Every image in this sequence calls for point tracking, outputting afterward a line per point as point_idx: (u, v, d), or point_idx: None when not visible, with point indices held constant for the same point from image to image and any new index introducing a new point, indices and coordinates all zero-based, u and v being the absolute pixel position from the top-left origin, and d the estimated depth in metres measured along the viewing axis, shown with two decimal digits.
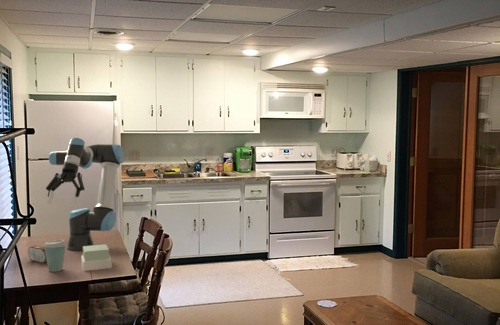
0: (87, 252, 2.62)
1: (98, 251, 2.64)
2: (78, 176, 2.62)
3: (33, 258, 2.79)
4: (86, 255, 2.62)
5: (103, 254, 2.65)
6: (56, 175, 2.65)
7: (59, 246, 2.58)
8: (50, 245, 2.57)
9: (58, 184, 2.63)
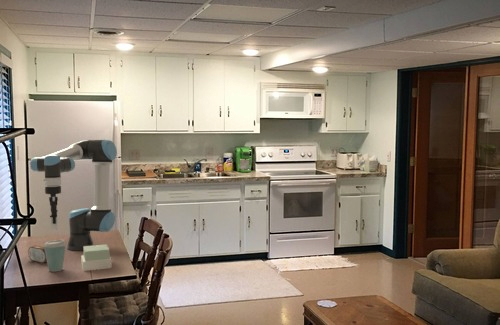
0: (88, 252, 2.62)
1: (99, 251, 2.64)
2: (51, 201, 2.53)
3: (33, 258, 2.79)
4: (87, 255, 2.62)
5: (103, 254, 2.65)
6: None
7: (59, 246, 2.58)
8: (50, 245, 2.57)
9: None
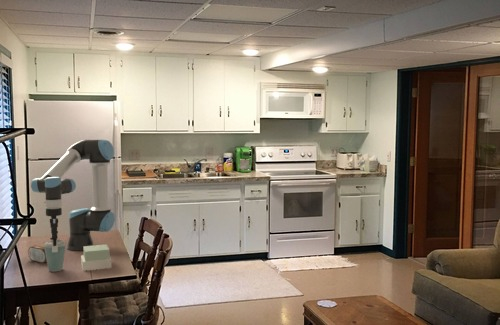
0: (88, 252, 2.62)
1: (99, 251, 2.64)
2: (51, 224, 2.54)
3: (33, 258, 2.79)
4: (87, 255, 2.62)
5: (103, 254, 2.65)
6: None
7: (59, 246, 2.58)
8: (50, 245, 2.57)
9: None
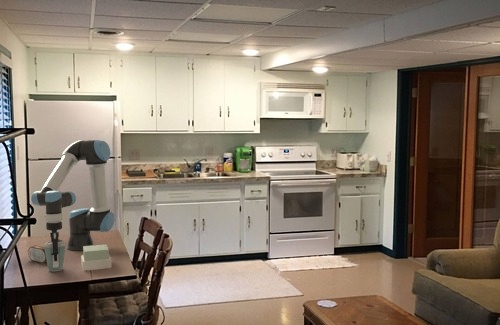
0: (87, 252, 2.62)
1: (98, 251, 2.64)
2: (52, 239, 2.55)
3: (33, 258, 2.79)
4: (86, 255, 2.62)
5: (103, 254, 2.65)
6: None
7: (59, 246, 2.58)
8: (50, 245, 2.57)
9: None
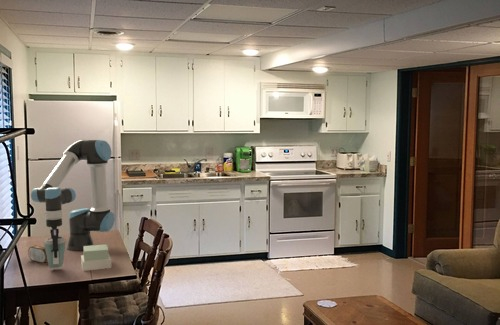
0: (86, 252, 2.62)
1: (97, 251, 2.64)
2: (52, 236, 2.55)
3: (33, 258, 2.79)
4: (85, 255, 2.62)
5: (102, 254, 2.65)
6: None
7: (59, 243, 2.58)
8: (50, 242, 2.57)
9: None
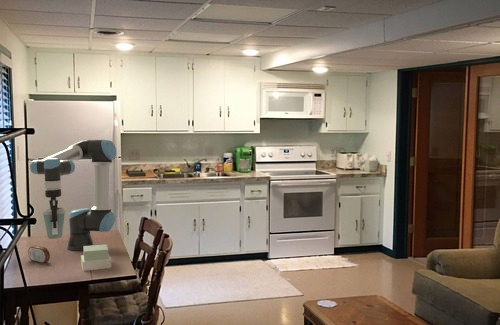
0: (86, 252, 2.63)
1: (97, 251, 2.64)
2: (51, 206, 2.54)
3: (33, 258, 2.79)
4: (85, 255, 2.62)
5: (102, 254, 2.65)
6: None
7: (58, 213, 2.57)
8: (49, 212, 2.56)
9: None
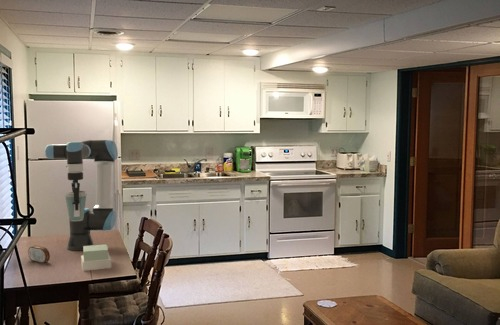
0: (86, 252, 2.63)
1: (97, 251, 2.64)
2: (73, 188, 2.57)
3: (33, 258, 2.79)
4: (85, 255, 2.63)
5: (102, 254, 2.65)
6: (72, 183, 2.68)
7: (80, 196, 2.60)
8: (71, 195, 2.59)
9: None
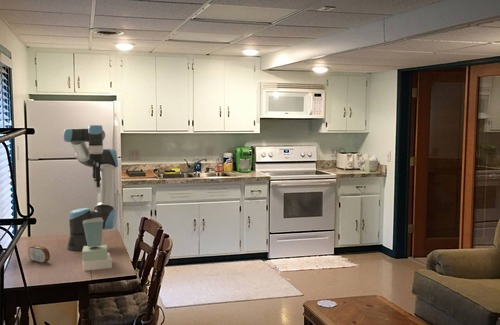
0: (85, 252, 2.62)
1: (96, 251, 2.64)
2: (95, 167, 2.78)
3: (33, 258, 2.79)
4: (84, 255, 2.62)
5: (101, 254, 2.64)
6: (93, 163, 2.90)
7: (92, 221, 2.66)
8: (84, 221, 2.67)
9: None
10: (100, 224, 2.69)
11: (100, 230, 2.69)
